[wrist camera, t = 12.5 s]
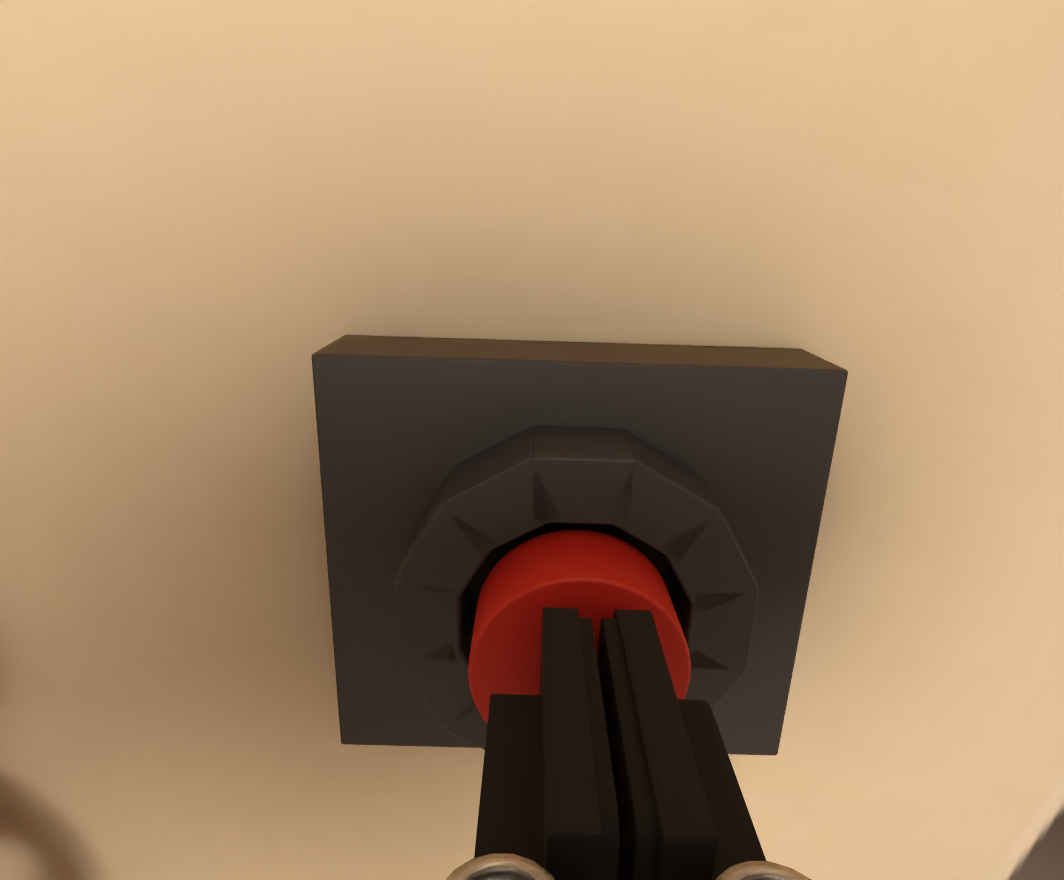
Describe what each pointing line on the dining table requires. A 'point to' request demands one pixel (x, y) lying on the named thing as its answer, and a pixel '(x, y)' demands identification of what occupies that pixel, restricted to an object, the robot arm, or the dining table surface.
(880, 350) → the dining table surface
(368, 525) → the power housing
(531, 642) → the power button
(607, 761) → the robot arm
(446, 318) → the dining table surface
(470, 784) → the dining table surface
